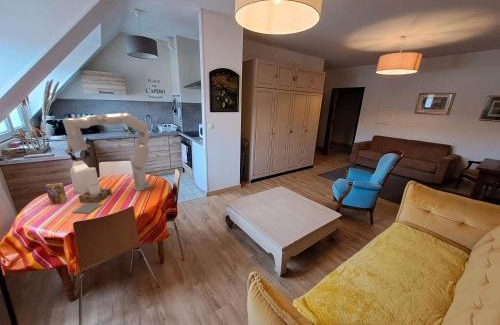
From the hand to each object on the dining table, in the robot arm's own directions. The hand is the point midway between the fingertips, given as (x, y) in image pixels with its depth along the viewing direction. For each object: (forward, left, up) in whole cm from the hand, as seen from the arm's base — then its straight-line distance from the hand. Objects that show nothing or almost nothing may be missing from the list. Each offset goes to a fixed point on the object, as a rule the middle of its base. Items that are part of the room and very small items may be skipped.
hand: (81, 158), depth 147 cm
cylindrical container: (-3, -2, -34) cm, 34 cm away
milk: (+17, -15, -34) cm, 41 cm away
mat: (-9, +14, -34) cm, 38 cm away
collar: (-3, -2, -34) cm, 34 cm away
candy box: (+19, +7, -34) cm, 40 cm away
